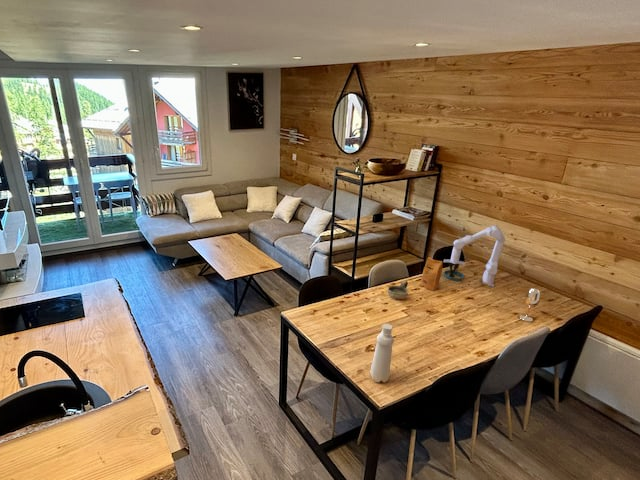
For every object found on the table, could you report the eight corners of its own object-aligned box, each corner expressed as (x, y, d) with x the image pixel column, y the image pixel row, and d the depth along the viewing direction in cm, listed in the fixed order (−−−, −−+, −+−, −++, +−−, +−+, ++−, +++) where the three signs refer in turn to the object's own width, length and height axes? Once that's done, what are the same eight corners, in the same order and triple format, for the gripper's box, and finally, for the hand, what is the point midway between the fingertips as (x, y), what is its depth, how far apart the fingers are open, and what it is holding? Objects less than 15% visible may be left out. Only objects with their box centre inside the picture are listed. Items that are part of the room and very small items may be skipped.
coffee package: (425, 281, 290) (430, 254, 282) (440, 287, 282) (446, 260, 273) (417, 285, 285) (422, 257, 276) (432, 291, 276) (438, 263, 267)
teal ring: (442, 273, 304) (443, 268, 303) (461, 276, 301) (462, 271, 299) (443, 281, 292) (444, 276, 290) (464, 284, 288) (465, 279, 286)
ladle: (450, 274, 299) (451, 267, 295) (456, 276, 296) (456, 269, 292) (447, 277, 297) (448, 269, 293) (452, 279, 294) (453, 271, 290)
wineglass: (532, 317, 248) (541, 289, 240) (533, 323, 242) (543, 294, 234) (518, 314, 251) (526, 286, 243) (519, 319, 244) (528, 291, 237)
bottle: (385, 371, 196) (394, 321, 184) (390, 384, 188) (400, 332, 176) (367, 371, 196) (375, 321, 184) (372, 384, 187) (380, 332, 175)
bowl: (382, 296, 268) (384, 283, 264) (396, 288, 278) (398, 276, 275) (400, 304, 258) (402, 291, 254) (414, 296, 269) (416, 283, 265)
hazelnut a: (457, 279, 293) (454, 279, 295) (457, 277, 294) (455, 277, 295) (455, 279, 292) (453, 278, 294) (456, 276, 293) (454, 276, 294)
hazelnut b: (447, 275, 300) (446, 273, 300) (450, 275, 299) (449, 272, 299) (447, 276, 298) (446, 274, 298) (450, 275, 298) (449, 273, 298)
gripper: (445, 256, 287) (442, 272, 292) (467, 259, 283) (463, 275, 288) (444, 252, 293) (441, 269, 298) (465, 255, 289) (461, 271, 295)
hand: (452, 272), depth 294 cm, fingers closed on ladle
